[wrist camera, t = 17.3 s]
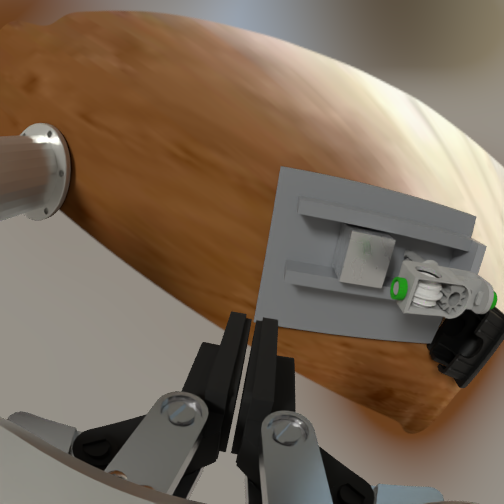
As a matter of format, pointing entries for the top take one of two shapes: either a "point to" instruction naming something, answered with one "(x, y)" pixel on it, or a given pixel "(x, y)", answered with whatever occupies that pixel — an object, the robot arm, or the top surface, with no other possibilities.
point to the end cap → (467, 343)
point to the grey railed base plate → (324, 246)
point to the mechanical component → (439, 289)
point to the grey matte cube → (362, 255)
